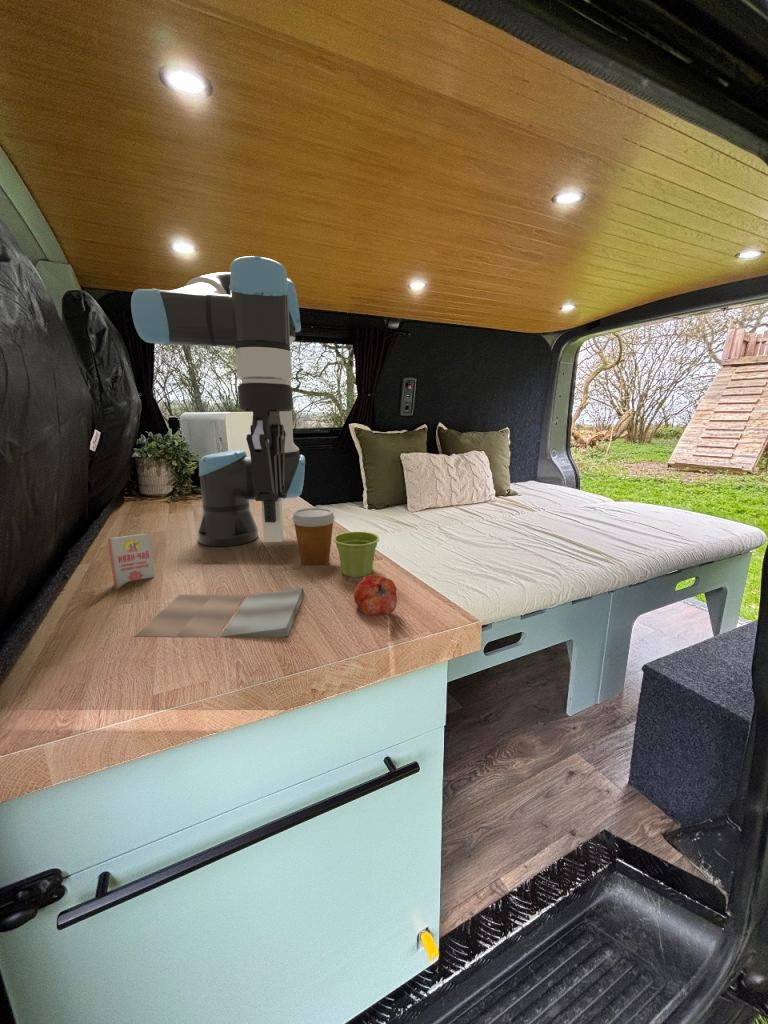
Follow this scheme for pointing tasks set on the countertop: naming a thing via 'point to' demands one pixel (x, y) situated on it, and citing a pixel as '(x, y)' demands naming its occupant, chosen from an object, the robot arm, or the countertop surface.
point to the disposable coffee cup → (314, 534)
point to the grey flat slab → (265, 614)
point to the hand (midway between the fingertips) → (273, 540)
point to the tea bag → (130, 558)
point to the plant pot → (356, 552)
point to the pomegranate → (375, 595)
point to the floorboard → (193, 616)
